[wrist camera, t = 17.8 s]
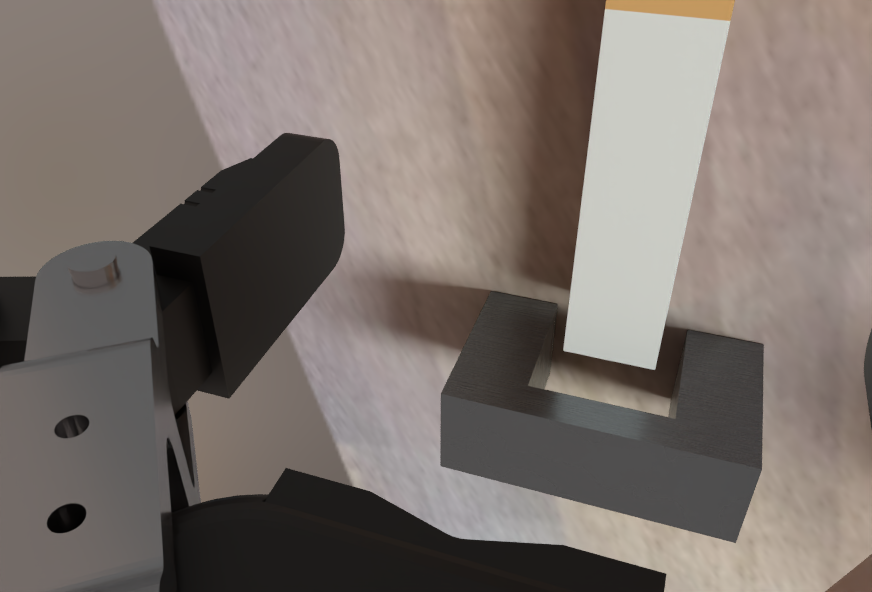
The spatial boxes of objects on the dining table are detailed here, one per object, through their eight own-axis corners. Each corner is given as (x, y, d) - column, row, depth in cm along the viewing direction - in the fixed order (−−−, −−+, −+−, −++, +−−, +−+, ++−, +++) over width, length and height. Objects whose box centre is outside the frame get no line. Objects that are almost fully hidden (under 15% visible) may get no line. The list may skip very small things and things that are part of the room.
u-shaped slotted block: (763, 344, 32) (762, 469, 27) (741, 415, 35) (735, 542, 29) (491, 291, 35) (440, 393, 30) (487, 359, 38) (440, 465, 32)
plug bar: (757, -122, 24) (755, -97, 20) (665, 309, 33) (654, 370, 30) (638, -128, 24) (619, -105, 21) (581, 293, 34) (563, 350, 31)
